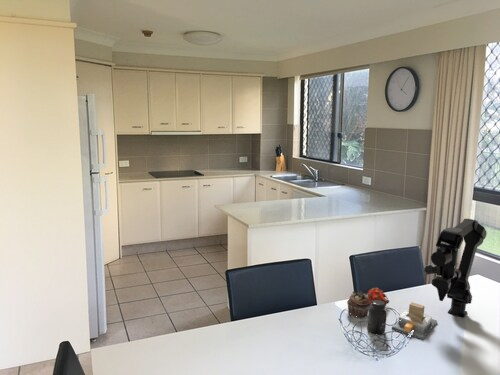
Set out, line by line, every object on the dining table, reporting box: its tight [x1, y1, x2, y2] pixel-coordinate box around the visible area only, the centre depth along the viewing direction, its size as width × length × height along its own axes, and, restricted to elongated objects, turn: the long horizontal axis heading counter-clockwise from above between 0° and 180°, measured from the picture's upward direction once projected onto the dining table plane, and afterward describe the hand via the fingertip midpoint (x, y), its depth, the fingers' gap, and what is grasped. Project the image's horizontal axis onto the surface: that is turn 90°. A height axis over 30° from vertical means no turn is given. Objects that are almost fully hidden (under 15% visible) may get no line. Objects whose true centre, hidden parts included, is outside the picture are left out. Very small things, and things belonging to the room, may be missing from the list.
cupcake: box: [346, 290, 371, 319], centre depth 181 cm, size 10×10×10 cm
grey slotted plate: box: [391, 308, 438, 340], centre depth 173 cm, size 18×12×4 cm, turn 140°
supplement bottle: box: [366, 300, 388, 336], centre depth 167 cm, size 7×7×12 cm
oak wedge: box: [408, 301, 426, 321], centre depth 172 cm, size 3×5×8 cm, turn 50°
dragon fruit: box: [366, 287, 390, 307], centre depth 190 cm, size 8×8×12 cm
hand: (444, 297), depth 173 cm, fingers open, 9 cm apart
